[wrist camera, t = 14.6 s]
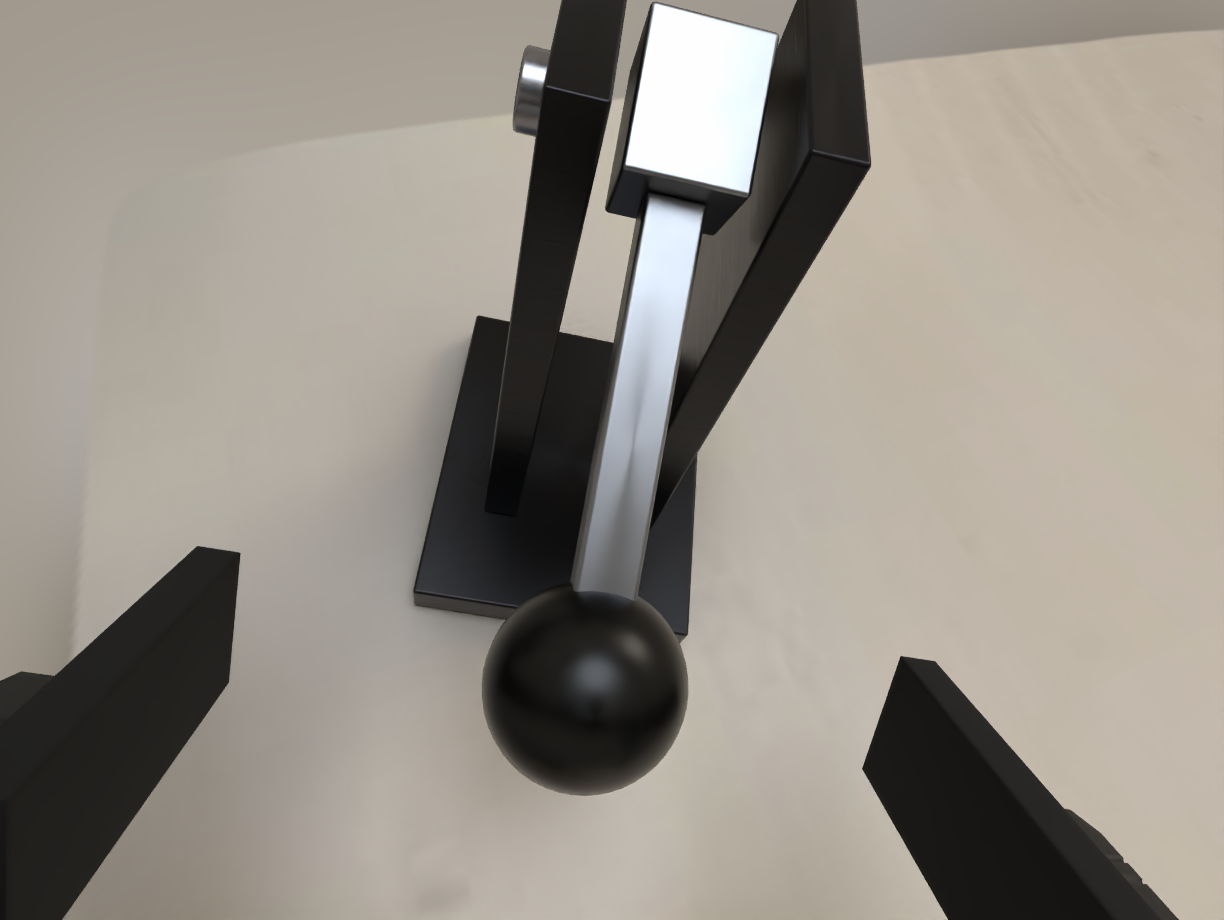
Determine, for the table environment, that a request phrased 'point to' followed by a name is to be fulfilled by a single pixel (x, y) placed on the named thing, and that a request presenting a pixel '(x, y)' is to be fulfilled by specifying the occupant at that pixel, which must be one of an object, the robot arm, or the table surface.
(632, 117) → the switch lever
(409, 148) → the table surface
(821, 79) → the switch bracket
